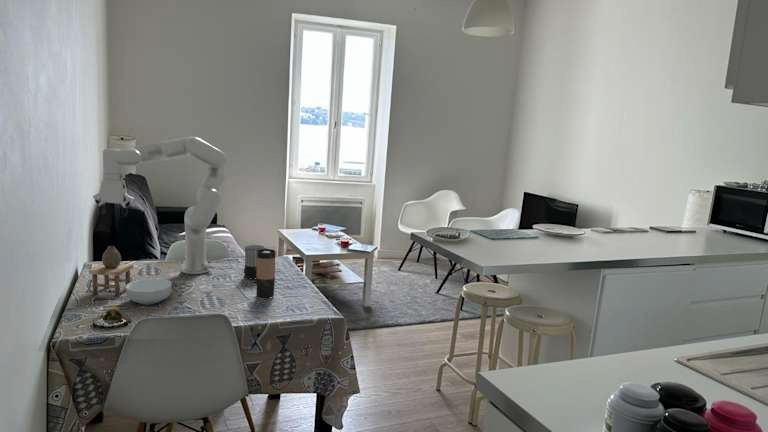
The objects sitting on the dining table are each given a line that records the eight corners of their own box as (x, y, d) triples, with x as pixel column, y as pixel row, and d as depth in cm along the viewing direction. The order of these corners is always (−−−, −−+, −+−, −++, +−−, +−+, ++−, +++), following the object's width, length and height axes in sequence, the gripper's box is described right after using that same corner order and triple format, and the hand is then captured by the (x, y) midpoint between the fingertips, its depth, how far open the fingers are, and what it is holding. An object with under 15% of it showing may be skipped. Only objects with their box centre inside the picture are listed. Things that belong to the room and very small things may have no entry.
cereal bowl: (126, 296, 219) (126, 279, 218) (170, 293, 226) (170, 277, 225) (125, 310, 204) (125, 292, 203) (172, 306, 211) (172, 289, 210)
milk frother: (253, 281, 251) (254, 250, 248) (229, 274, 259) (230, 244, 256) (274, 275, 263) (275, 245, 260) (251, 268, 271) (252, 240, 268)
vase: (124, 266, 224) (124, 245, 223) (114, 270, 218) (114, 249, 216) (108, 264, 225) (108, 244, 224) (98, 268, 218) (98, 247, 217)
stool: (133, 288, 229) (133, 264, 227) (119, 297, 217) (118, 272, 215) (105, 286, 229) (104, 262, 227) (89, 295, 217) (88, 270, 215)
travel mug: (277, 295, 232) (279, 250, 229) (268, 300, 225) (269, 254, 222) (262, 292, 234) (263, 248, 231) (252, 297, 227) (253, 251, 224)
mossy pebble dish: (85, 328, 186) (84, 307, 184) (108, 316, 197) (107, 297, 196) (116, 332, 184) (116, 311, 183) (137, 320, 195) (137, 300, 194)
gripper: (136, 177, 239) (137, 215, 242) (97, 175, 239) (98, 212, 242) (128, 179, 231) (129, 218, 234) (88, 176, 232) (89, 215, 234)
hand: (113, 215), depth 238 cm, fingers open, 9 cm apart
